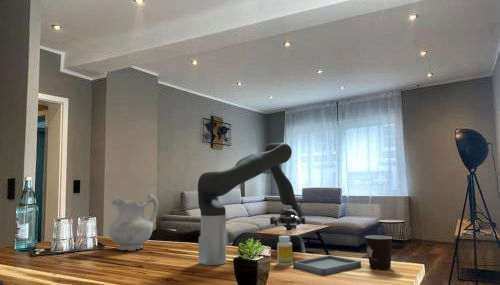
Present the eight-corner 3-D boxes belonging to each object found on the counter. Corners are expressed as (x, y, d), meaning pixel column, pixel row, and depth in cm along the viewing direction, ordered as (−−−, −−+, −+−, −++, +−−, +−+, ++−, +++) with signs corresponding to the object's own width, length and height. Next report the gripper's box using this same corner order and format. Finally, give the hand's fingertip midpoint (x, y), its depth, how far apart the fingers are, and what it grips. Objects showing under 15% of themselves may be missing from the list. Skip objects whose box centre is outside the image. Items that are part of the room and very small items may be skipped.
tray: (323, 275, 111) (323, 269, 111) (293, 267, 122) (293, 261, 122) (361, 266, 121) (360, 261, 121) (329, 260, 132) (329, 255, 132)
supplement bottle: (275, 263, 129) (274, 235, 130) (288, 261, 131) (287, 234, 132) (281, 266, 124) (280, 237, 125) (295, 264, 126) (294, 236, 127)
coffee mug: (396, 271, 114) (394, 239, 115) (368, 270, 115) (366, 238, 117) (389, 263, 125) (388, 234, 126) (364, 262, 127) (362, 234, 128)
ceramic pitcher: (147, 245, 180) (146, 195, 184) (165, 247, 165) (163, 192, 169) (103, 251, 166) (103, 197, 170) (118, 253, 151) (117, 194, 156)
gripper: (272, 209, 158) (268, 213, 142) (305, 209, 155) (304, 212, 139) (273, 226, 157) (268, 232, 141) (306, 226, 155) (305, 232, 139)
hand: (286, 222), depth 140 cm, fingers open, 8 cm apart
